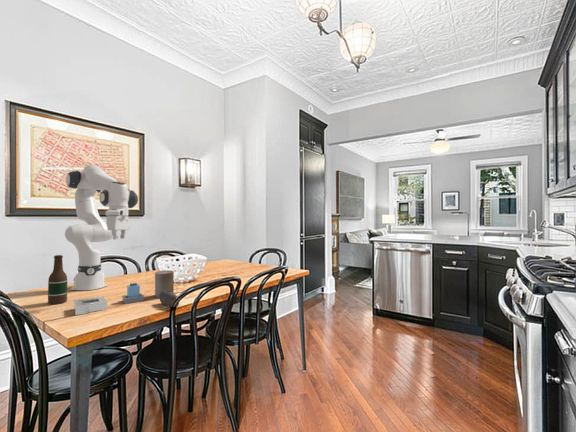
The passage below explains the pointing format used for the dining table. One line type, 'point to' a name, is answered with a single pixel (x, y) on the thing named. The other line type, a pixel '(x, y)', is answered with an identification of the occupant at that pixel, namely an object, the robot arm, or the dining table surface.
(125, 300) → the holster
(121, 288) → the dining table surface
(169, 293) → the perforated stone tool
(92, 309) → the block
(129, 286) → the plug
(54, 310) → the dining table surface
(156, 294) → the pillar candle
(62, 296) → the beer bottle
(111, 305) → the dining table surface
